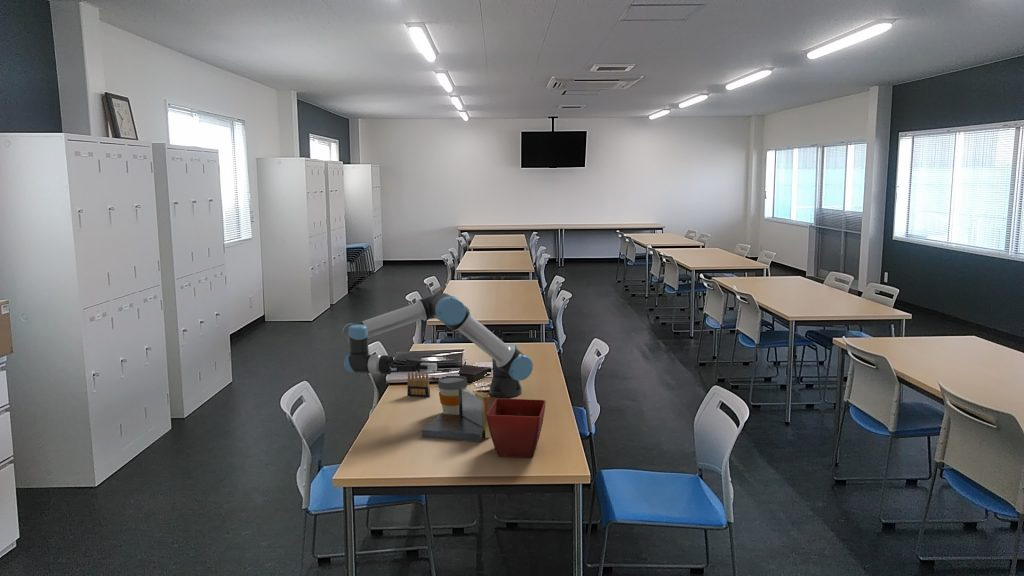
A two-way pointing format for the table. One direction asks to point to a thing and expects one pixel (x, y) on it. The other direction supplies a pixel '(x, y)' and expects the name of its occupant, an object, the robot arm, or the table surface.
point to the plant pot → (516, 426)
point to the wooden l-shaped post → (484, 412)
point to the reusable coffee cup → (451, 393)
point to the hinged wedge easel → (470, 406)
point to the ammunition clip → (418, 385)
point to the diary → (471, 372)
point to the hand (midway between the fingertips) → (436, 367)
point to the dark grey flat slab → (453, 428)
